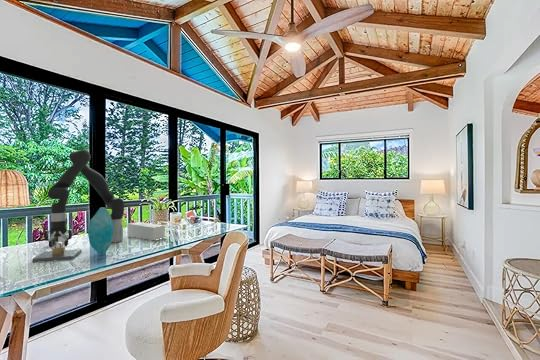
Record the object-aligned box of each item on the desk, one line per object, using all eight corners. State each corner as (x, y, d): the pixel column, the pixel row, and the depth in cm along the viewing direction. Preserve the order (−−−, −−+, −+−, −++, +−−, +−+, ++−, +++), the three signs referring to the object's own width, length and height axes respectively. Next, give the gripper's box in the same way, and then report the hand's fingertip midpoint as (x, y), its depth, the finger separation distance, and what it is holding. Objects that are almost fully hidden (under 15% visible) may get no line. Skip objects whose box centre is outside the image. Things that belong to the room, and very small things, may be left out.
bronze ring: (66, 251, 176) (66, 245, 176) (62, 254, 170) (62, 248, 170) (54, 252, 174) (54, 246, 174) (50, 255, 168) (50, 248, 168)
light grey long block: (127, 236, 232) (127, 223, 232) (138, 234, 241) (138, 221, 241) (153, 241, 217) (153, 227, 217) (164, 238, 226) (164, 225, 226)
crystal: (90, 252, 182) (90, 206, 182) (114, 251, 187) (114, 206, 186) (85, 258, 171) (85, 209, 170) (111, 256, 176) (111, 208, 175)
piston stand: (81, 252, 183) (81, 238, 183) (73, 259, 168) (73, 244, 168) (44, 254, 176) (44, 240, 176) (32, 262, 161) (32, 246, 161)
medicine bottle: (50, 244, 200) (51, 228, 200) (61, 242, 207) (61, 226, 207) (57, 245, 198) (58, 229, 198) (68, 243, 205) (68, 227, 205)
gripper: (74, 218, 178) (74, 244, 178) (47, 219, 173) (47, 246, 173) (70, 220, 171) (70, 247, 171) (41, 221, 166) (41, 249, 166)
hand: (58, 246), depth 172 cm, fingers open, 7 cm apart
